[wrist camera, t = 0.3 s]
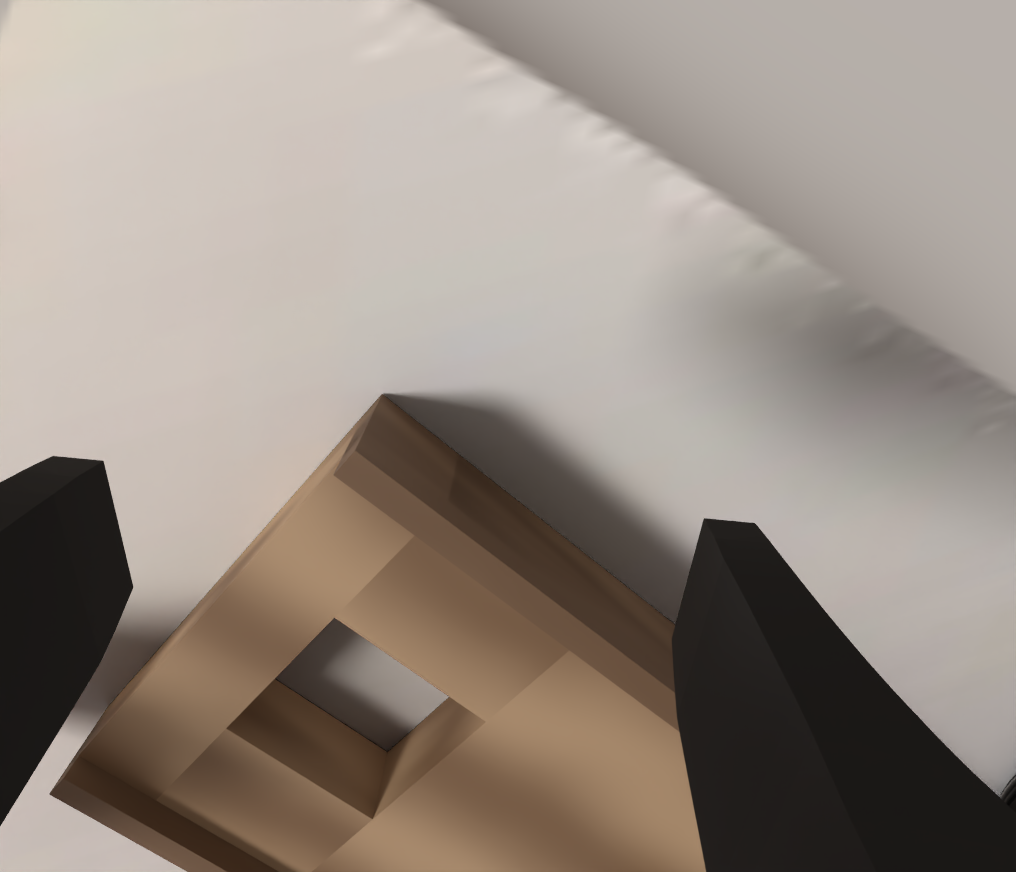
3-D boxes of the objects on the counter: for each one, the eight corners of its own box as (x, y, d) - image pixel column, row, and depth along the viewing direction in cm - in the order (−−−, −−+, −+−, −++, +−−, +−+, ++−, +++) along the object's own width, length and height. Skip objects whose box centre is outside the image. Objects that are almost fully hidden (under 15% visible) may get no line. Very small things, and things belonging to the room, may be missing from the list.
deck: (599, 1003, 30) (605, 1106, 27) (107, 707, 25) (49, 794, 22) (907, 807, 26) (955, 906, 23) (381, 393, 21) (355, 450, 18)
